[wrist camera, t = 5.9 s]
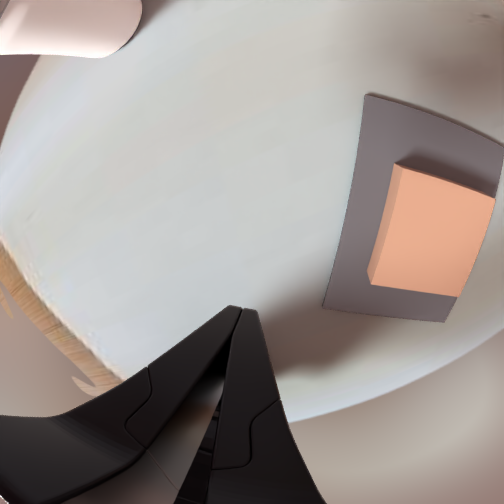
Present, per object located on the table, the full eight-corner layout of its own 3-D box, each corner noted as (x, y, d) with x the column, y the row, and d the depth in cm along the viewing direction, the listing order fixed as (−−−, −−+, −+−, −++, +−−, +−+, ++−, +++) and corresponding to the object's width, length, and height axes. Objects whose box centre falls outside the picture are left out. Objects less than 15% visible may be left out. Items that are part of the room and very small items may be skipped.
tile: (366, 270, 19) (450, 284, 18) (371, 284, 17) (458, 297, 16) (393, 163, 15) (482, 191, 14) (402, 168, 14) (495, 199, 13)
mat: (442, 319, 20) (444, 322, 20) (322, 305, 22) (322, 308, 21) (502, 147, 13) (505, 148, 12) (364, 95, 14) (366, 94, 14)
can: (145, -19, 11) (38, -67, 1) (146, 41, 14) (13, 13, 4) (84, 12, 13) (-23, -2, 2) (84, 70, 16) (-38, 77, 5)
